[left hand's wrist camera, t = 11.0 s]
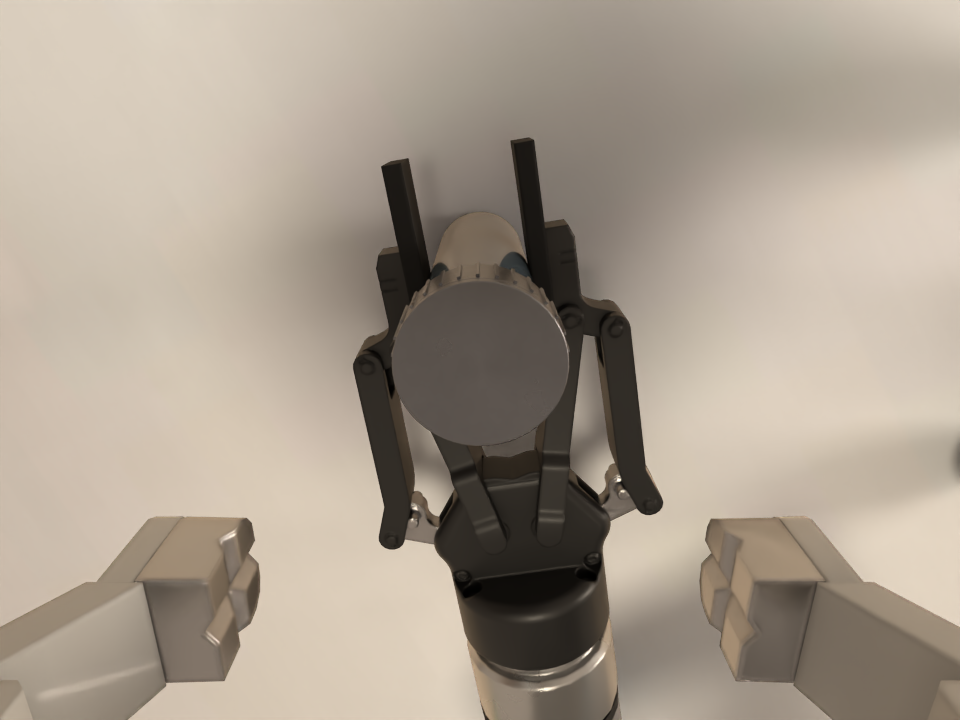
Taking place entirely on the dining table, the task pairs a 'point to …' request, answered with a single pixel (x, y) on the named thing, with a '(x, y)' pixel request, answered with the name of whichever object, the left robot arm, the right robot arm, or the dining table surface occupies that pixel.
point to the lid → (480, 355)
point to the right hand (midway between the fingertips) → (458, 152)
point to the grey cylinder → (480, 244)
